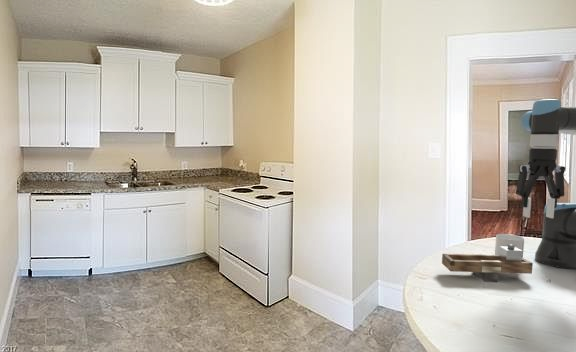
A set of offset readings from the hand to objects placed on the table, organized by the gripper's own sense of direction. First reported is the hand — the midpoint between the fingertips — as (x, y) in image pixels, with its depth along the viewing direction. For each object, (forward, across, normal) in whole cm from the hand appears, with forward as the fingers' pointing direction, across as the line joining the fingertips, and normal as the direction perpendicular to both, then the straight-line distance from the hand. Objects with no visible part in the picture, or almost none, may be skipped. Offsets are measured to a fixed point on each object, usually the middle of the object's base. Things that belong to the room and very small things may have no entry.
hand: (537, 217), depth 123 cm
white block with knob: (+16, +8, 0) cm, 18 cm away
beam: (+21, +16, 0) cm, 26 cm away
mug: (+21, +1, -13) cm, 25 cm away
